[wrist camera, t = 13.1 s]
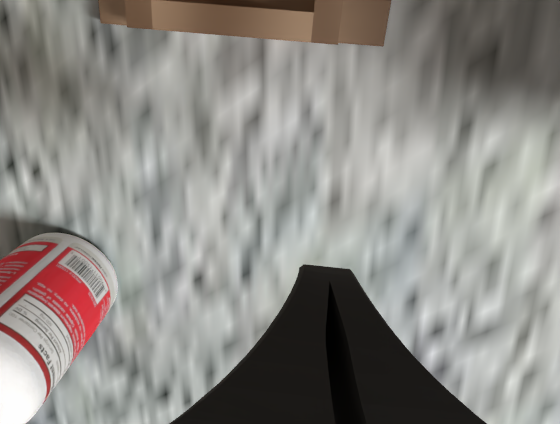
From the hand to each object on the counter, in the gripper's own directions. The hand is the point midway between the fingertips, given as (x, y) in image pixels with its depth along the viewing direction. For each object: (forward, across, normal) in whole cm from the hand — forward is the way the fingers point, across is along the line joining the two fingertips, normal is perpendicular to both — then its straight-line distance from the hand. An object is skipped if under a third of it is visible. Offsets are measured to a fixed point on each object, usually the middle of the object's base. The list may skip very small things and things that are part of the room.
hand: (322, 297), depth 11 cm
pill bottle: (+11, +14, +8) cm, 19 cm away
